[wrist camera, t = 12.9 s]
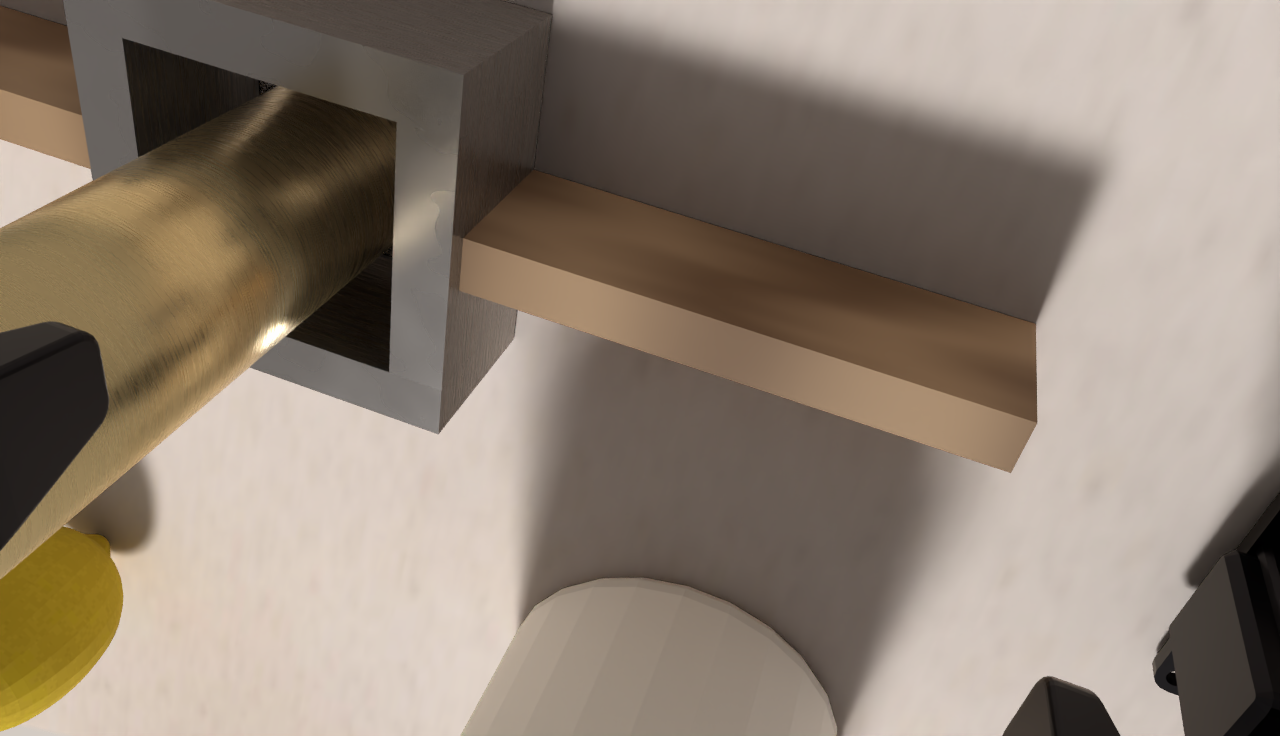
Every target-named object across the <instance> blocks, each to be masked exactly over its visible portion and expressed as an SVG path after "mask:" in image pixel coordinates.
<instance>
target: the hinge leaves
mask: <svg viewBox="0 0 1280 736" xmlns="http://www.w3.org/2000/svg"><path fill="white" fill-rule="evenodd" d="M0 139H2V140H5V141H8V142H11V143H14V144H17V145H20V146H23V147H26V148H29V149H32V150H35V151H38V152H41V153H44V154H47V155H50V156H53V157H56V158H59V159H62V160H65V161H68V162H71V163H74V164H77V165H80V166H83V167H86V168H90V169H91V166H90V160H89V154H88V148H87V142H86V136H85V130H84V124H83V118H82V112H81V106H80V100H79V94H78V88H77V82H76V76H75V70H74V64H73V58H72V52H71V46H70V40H69V34H68V28H67V26H65V25H61V24H58V23H55V22H52V21H48V20H45V19H42V18H39V17H35V16H32V15H29V14H26V13H22V12H19V11H16V10H13V9H9V8H6V7H3V6H0ZM459 291H462V292H465V293H468V294H471V295H474V296H477V297H480V298H483V299H486V300H489V301H492V302H495V303H498V304H501V305H504V306H507V307H510V308H513V309H516V310H519V311H522V312H525V313H528V314H531V315H534V316H537V317H540V318H544V319H547V320H550V321H553V322H556V323H559V324H562V325H565V326H568V327H571V328H574V329H577V330H580V331H583V332H586V333H589V334H592V335H595V336H598V337H601V338H604V339H607V340H610V341H613V342H616V343H619V344H622V345H625V346H628V347H631V348H634V349H637V350H640V351H643V352H646V353H649V354H652V355H655V356H659V357H662V358H665V359H668V360H671V361H674V362H677V363H680V364H683V365H686V366H689V367H692V368H695V369H698V370H701V371H704V372H707V373H710V374H713V375H716V376H719V377H722V378H725V379H728V380H731V381H734V382H737V383H740V384H743V385H746V386H749V387H752V388H755V389H758V390H761V391H764V392H767V393H771V394H774V395H777V396H780V397H783V398H786V399H789V400H792V401H795V402H798V403H801V404H804V405H807V406H810V407H813V408H816V409H819V410H822V411H825V412H828V413H831V414H834V415H837V416H840V417H843V418H846V419H849V420H852V421H855V422H858V423H861V424H864V425H867V426H870V427H873V428H876V429H879V430H882V431H886V432H889V433H892V434H895V435H898V436H901V437H904V438H907V439H910V440H913V441H916V442H919V443H922V444H925V445H928V446H931V447H934V448H937V449H940V450H943V451H946V452H949V453H952V454H955V455H958V456H961V457H964V458H967V459H970V460H973V461H976V462H979V463H982V464H985V465H988V466H991V467H994V468H997V469H1001V470H1004V471H1007V472H1010V473H1011V472H1012V470H1013V468H1014V466H1015V464H1016V462H1017V460H1018V458H1019V457H1020V455H1021V453H1022V451H1023V449H1024V447H1025V445H1026V443H1027V441H1028V440H1029V438H1030V436H1031V434H1032V432H1033V430H1034V428H1035V426H1036V424H1037V373H1036V324H1034V323H1031V322H1028V321H1025V320H1021V319H1018V318H1015V317H1012V316H1008V315H1005V314H1002V313H999V312H995V311H992V310H989V309H986V308H982V307H979V306H976V305H973V304H969V303H966V302H963V301H960V300H956V299H953V298H950V297H946V296H943V295H940V294H937V293H933V292H930V291H927V290H924V289H920V288H917V287H914V286H911V285H907V284H904V283H901V282H898V281H894V280H891V279H888V278H885V277H881V276H878V275H875V274H872V273H868V272H865V271H862V270H859V269H855V268H852V267H849V266H846V265H842V264H839V263H836V262H833V261H829V260H826V259H823V258H820V257H816V256H813V255H810V254H807V253H803V252H800V251H797V250H794V249H790V248H787V247H784V246H781V245H777V244H774V243H771V242H768V241H764V240H761V239H758V238H755V237H751V236H748V235H745V234H742V233H738V232H735V231H732V230H729V229H725V228H722V227H719V226H715V225H712V224H709V223H706V222H702V221H699V220H696V219H693V218H689V217H686V216H683V215H680V214H676V213H673V212H670V211H667V210H663V209H660V208H657V207H654V206H650V205H647V204H644V203H641V202H637V201H634V200H631V199H628V198H624V197H621V196H618V195H615V194H611V193H608V192H605V191H602V190H598V189H595V188H592V187H589V186H585V185H582V184H579V183H576V182H572V181H569V180H566V179H563V178H559V177H556V176H553V175H550V174H546V173H543V172H540V171H537V170H533V171H532V172H531V173H530V174H529V175H528V176H527V177H526V178H524V179H523V180H522V181H521V182H520V183H519V184H518V185H517V186H516V187H515V188H514V189H513V190H512V191H511V192H510V193H509V194H508V195H507V196H506V197H505V198H504V199H503V200H502V201H501V202H500V203H499V204H498V205H497V206H496V207H495V208H494V209H493V210H492V211H491V212H490V213H488V214H487V215H486V216H485V217H484V218H483V219H482V220H481V221H480V222H479V223H478V224H477V225H476V226H475V227H474V228H473V229H472V230H471V231H470V232H469V233H468V234H467V235H466V236H465V237H464V238H463V246H462V259H461V272H460V285H459Z"/></svg>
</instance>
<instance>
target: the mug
mask: <svg viewBox="0 0 1280 736" xmlns="http://www.w3.org/2000/svg"><path fill="white" fill-rule="evenodd" d="M836 735H837V725H836V722H835V719H834V715H833V712H832V709H831V705H830V702H829V699H828V695H827V694H826V692H825V691H824V689H823V687H822V686H821V684H820V683H819V681H818V680H817V678H816V677H815V675H814V674H813V672H812V671H811V669H810V668H809V666H808V665H807V663H806V662H805V660H804V659H803V657H802V656H801V655H800V654H799V653H798V652H797V651H795V650H794V649H793V648H792V647H791V646H790V645H789V644H788V643H787V642H786V641H785V640H784V639H783V638H781V637H780V636H779V635H778V634H777V633H776V632H775V631H774V630H773V629H772V628H771V627H769V626H768V625H766V624H764V623H763V622H761V621H760V620H758V619H756V618H755V617H753V616H751V615H750V614H748V613H747V612H745V611H743V610H742V609H740V608H739V607H737V606H735V605H734V604H732V603H730V602H727V601H725V600H722V599H720V598H717V597H715V596H712V595H710V594H707V593H704V592H702V591H699V590H697V589H694V588H692V587H689V586H685V585H680V584H675V583H670V582H665V581H659V580H654V579H649V578H601V579H597V580H593V581H590V582H586V583H582V584H578V585H574V586H570V587H567V588H564V589H561V590H559V591H558V592H556V593H555V594H553V595H551V596H550V597H548V598H547V599H545V600H543V601H542V602H540V603H539V604H537V605H536V606H534V608H533V609H532V611H531V612H530V613H529V615H528V616H527V618H526V619H525V620H524V622H523V623H522V625H521V626H520V627H519V629H518V631H517V633H516V634H515V636H514V638H513V640H512V641H511V643H510V645H509V647H508V649H507V651H506V653H505V654H504V656H503V658H502V660H501V662H500V664H499V665H498V667H497V669H496V671H495V673H494V675H493V677H492V678H491V680H490V682H489V684H488V686H487V688H486V690H485V691H484V693H483V695H482V697H481V699H480V701H479V702H478V704H477V706H476V708H475V710H474V712H473V714H472V715H471V717H470V719H469V721H468V723H467V725H466V726H465V728H464V730H463V732H462V734H461V736H836Z"/></svg>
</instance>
